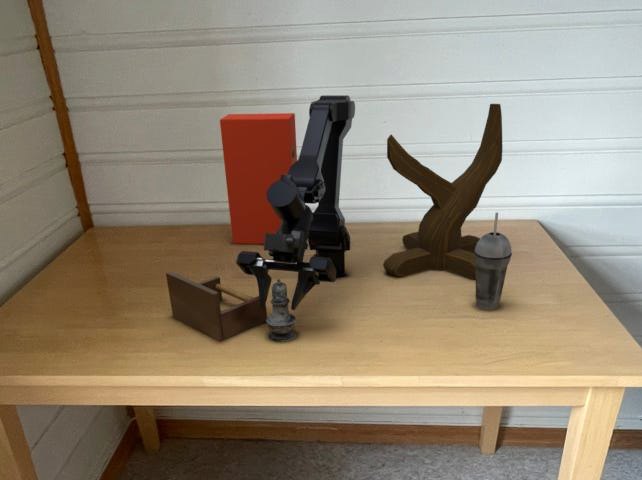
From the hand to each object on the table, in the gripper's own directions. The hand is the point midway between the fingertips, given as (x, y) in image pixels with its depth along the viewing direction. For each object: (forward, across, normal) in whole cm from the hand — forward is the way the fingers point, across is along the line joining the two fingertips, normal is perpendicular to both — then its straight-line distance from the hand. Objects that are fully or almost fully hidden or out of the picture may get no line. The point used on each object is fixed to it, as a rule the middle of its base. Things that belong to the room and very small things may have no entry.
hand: (277, 308), depth 120 cm
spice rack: (+1, -15, +8) cm, 18 cm away
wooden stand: (-28, +23, +38) cm, 52 cm away
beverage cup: (-12, +37, +22) cm, 45 cm away
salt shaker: (+4, 0, +6) cm, 7 cm away
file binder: (-33, -24, +43) cm, 59 cm away
